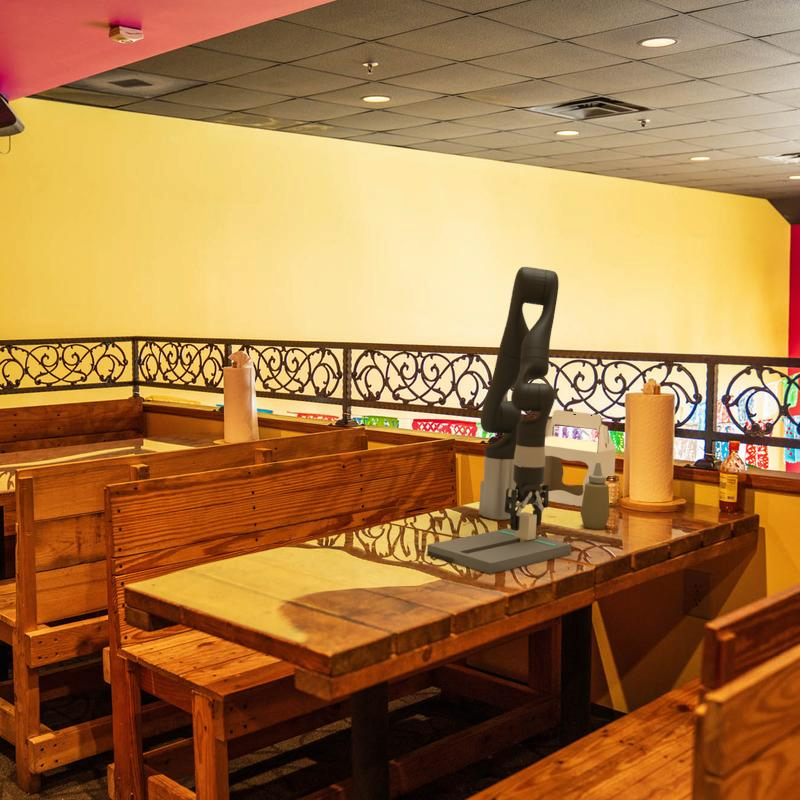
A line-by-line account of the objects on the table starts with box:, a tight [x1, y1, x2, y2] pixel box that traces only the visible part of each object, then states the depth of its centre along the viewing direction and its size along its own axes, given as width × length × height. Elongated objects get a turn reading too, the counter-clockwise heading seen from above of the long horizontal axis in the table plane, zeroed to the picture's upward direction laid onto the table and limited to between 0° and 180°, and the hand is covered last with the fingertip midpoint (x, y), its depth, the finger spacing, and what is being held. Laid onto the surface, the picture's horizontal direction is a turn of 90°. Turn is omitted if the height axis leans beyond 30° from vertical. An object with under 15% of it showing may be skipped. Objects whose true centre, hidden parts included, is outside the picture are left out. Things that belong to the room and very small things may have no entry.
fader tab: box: [515, 511, 537, 542], centre depth 242 cm, size 4×3×7 cm
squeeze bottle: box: [580, 463, 611, 530], centre depth 269 cm, size 8×8×18 cm
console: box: [426, 527, 572, 575], centre depth 236 cm, size 20×30×3 cm, turn 134°
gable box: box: [542, 409, 617, 508], centre depth 304 cm, size 22×13×28 cm, turn 53°
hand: (525, 527), depth 242 cm, fingers open, 8 cm apart
